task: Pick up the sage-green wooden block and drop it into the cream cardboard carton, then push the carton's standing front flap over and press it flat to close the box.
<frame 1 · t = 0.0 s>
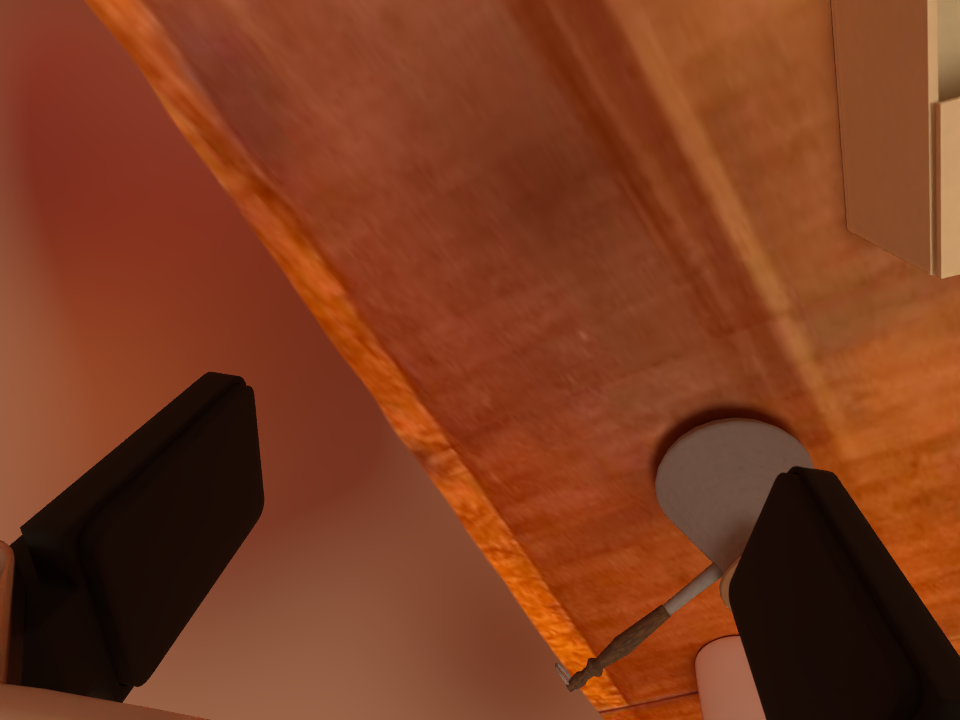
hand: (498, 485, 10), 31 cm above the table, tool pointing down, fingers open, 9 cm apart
candle holder: (737, 661, 56), on the table
coffee pot: (667, 484, 48), on the table
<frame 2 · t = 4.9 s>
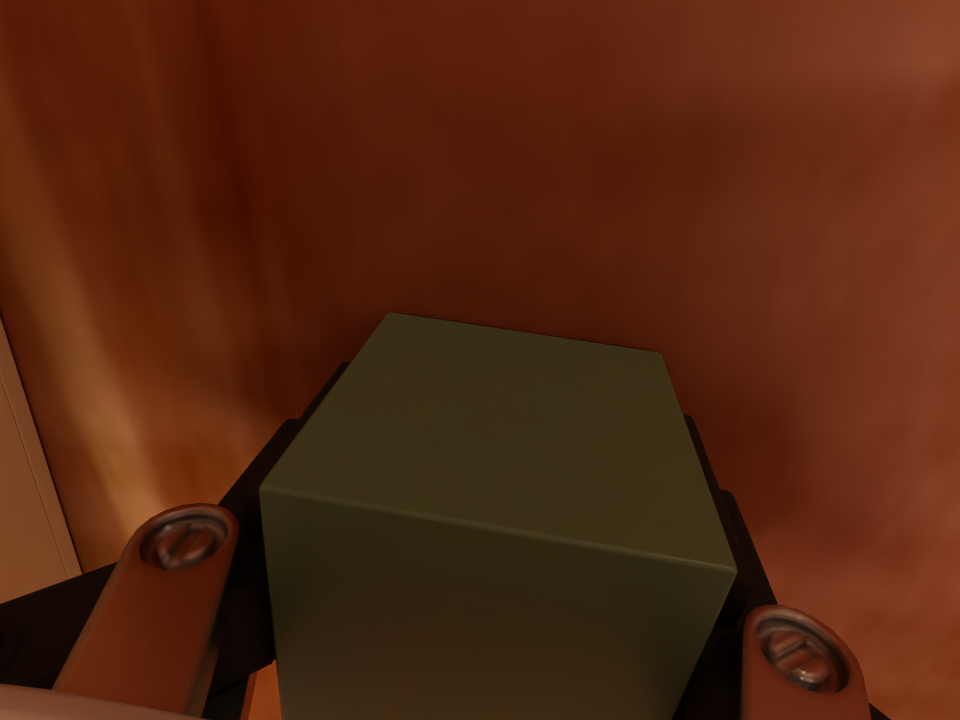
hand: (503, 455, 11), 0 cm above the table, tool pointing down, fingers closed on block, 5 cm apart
block: (505, 443, 11), on the table, touching gripper
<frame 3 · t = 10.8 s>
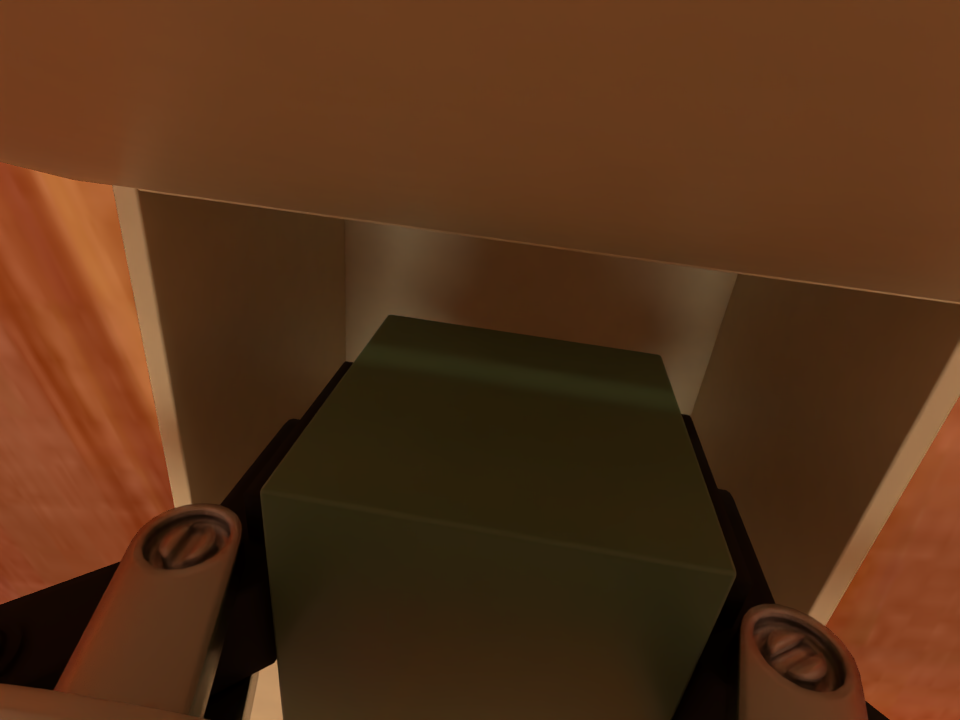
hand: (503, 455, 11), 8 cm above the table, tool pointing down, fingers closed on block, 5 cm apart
flap: (548, 143, 3), point 14 cm above the table, hinge at 110.0°
carton: (513, 394, 20), on the table
block: (505, 444, 11), point 8 cm above the table, touching gripper
when the fingers open (8 cm above the table, at t = 10.9 s): block drops 8 cm, resting on carton.
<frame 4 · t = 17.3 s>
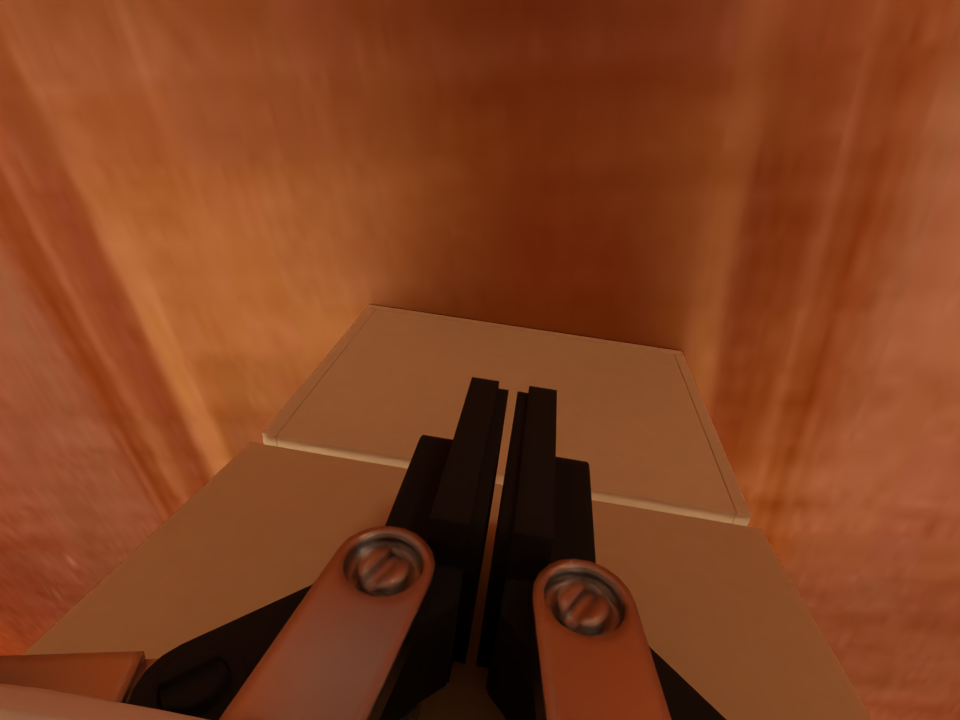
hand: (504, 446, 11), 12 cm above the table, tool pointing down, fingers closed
flap: (476, 616, 10), point 14 cm above the table, hinge at 98.0°, touching gripper
carton: (498, 486, 27), on the table
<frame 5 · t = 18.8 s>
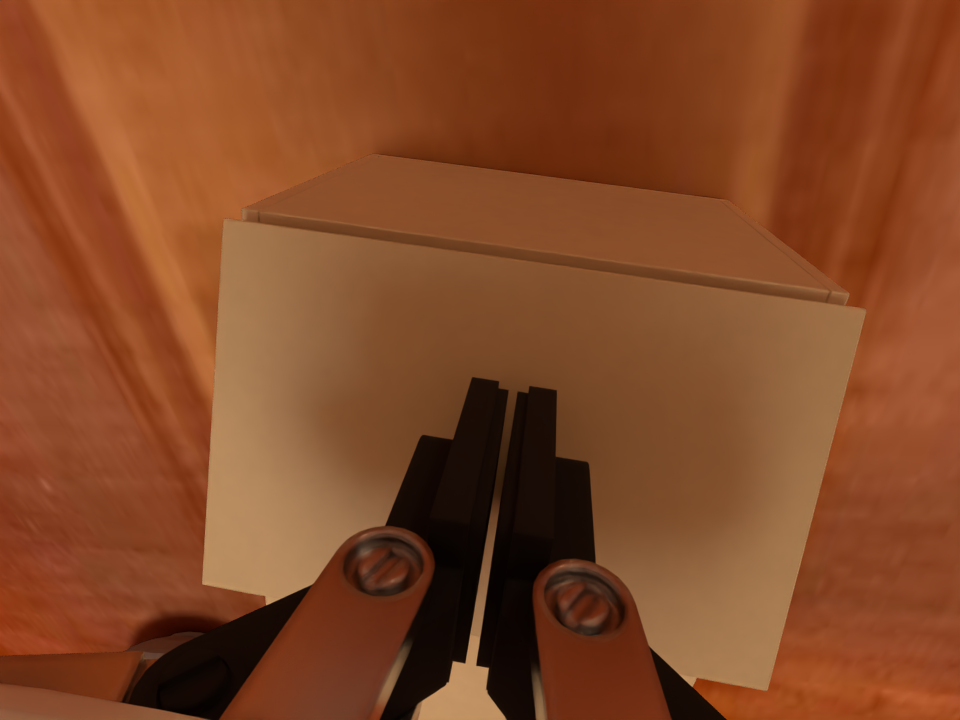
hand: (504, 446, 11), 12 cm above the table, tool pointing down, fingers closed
flap: (502, 457, 12), point 11 cm above the table, hinge at 17.7°, touching gripper
carton: (515, 379, 24), on the table
coffee pot: (152, 668, 38), on the table
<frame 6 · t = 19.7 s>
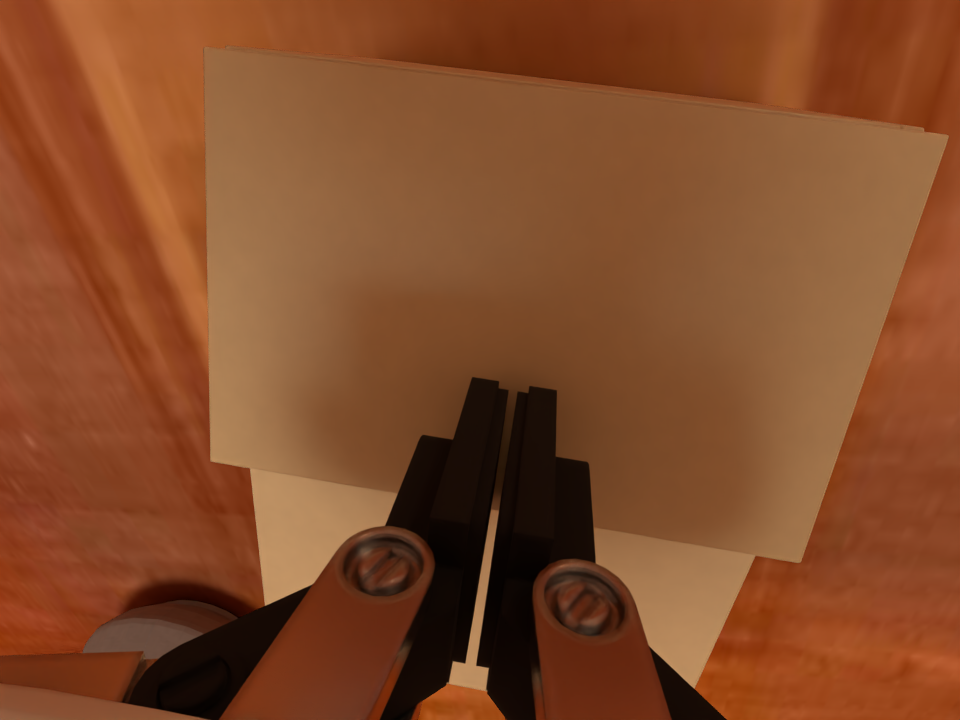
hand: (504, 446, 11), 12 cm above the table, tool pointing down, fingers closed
flap: (523, 321, 11), point 11 cm above the table, hinge at 10.6°, touching gripper
carton: (525, 314, 22), on the table
coffee pot: (143, 641, 36), on the table
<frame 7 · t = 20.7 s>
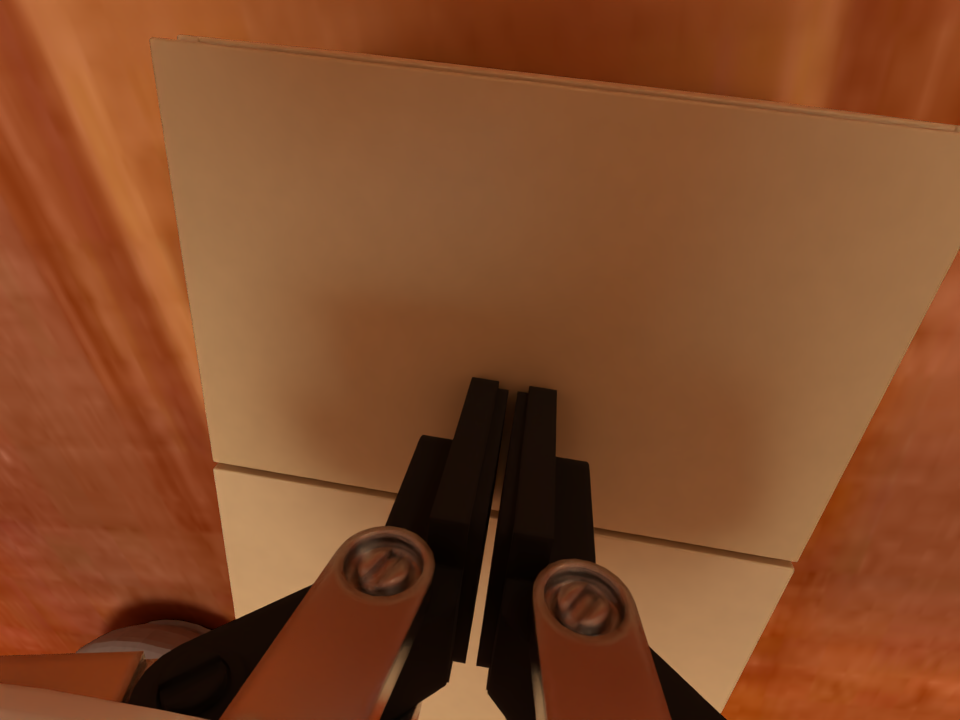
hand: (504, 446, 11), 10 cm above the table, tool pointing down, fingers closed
flap: (521, 334, 10), point 10 cm above the table, hinge at -0.3°, touching gripper
carton: (523, 326, 21), on the table
coffee pot: (127, 660, 35), on the table
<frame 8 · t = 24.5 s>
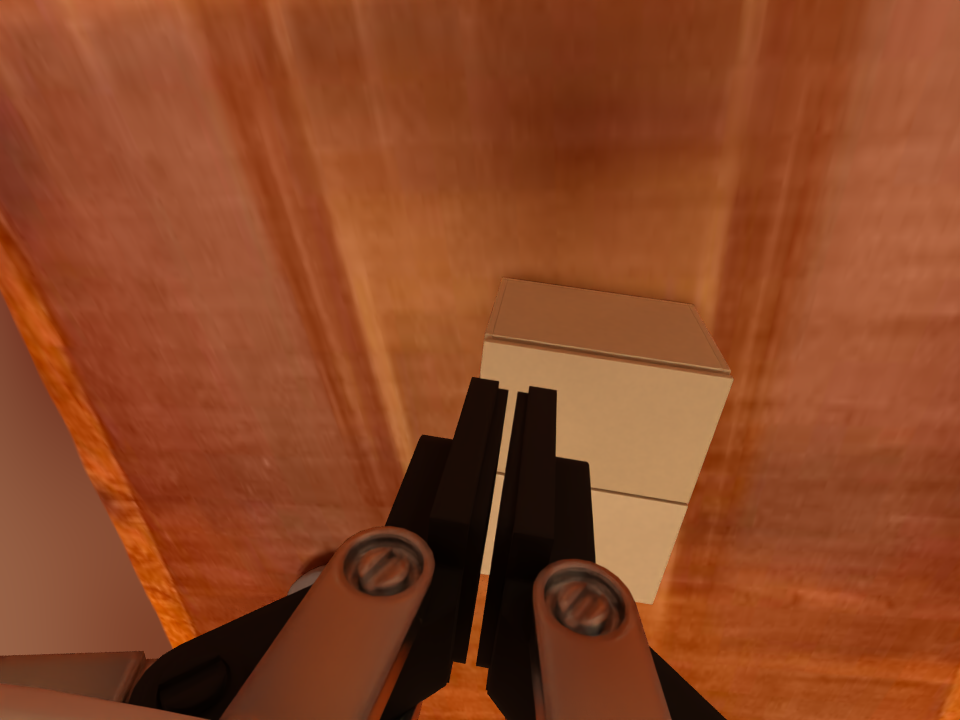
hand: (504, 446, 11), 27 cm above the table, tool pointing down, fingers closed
flap: (591, 424, 31), point 10 cm above the table, hinge at -0.5°
carton: (574, 397, 41), on the table
coffee pot: (310, 591, 55), on the table
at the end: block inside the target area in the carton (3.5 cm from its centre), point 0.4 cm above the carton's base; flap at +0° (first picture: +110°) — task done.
